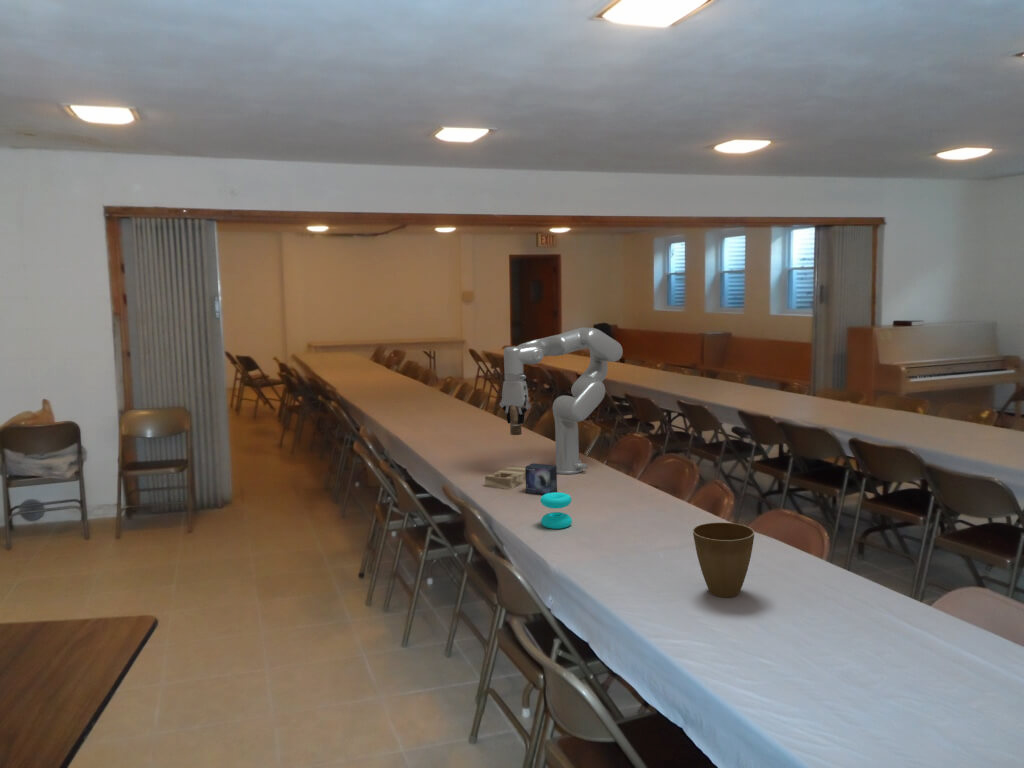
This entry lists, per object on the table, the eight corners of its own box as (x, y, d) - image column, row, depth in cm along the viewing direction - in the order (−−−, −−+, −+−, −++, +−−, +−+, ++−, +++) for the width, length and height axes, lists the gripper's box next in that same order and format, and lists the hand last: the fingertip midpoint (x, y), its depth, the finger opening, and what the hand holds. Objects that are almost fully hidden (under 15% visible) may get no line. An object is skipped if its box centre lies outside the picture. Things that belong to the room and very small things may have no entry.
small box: (525, 493, 302) (524, 466, 301) (532, 489, 308) (531, 462, 306) (550, 496, 297) (549, 468, 296) (557, 492, 303) (557, 465, 301)
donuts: (565, 490, 267) (575, 497, 257) (565, 519, 268) (576, 527, 259) (536, 493, 264) (545, 500, 255) (537, 522, 265) (546, 531, 256)
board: (511, 475, 331) (511, 465, 331) (535, 477, 325) (534, 468, 325) (485, 486, 314) (485, 476, 314) (509, 489, 308) (509, 479, 308)
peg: (523, 433, 322) (522, 403, 321) (517, 435, 319) (516, 405, 317) (514, 432, 325) (513, 403, 323) (508, 434, 321) (507, 405, 319)
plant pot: (742, 579, 210) (743, 520, 208) (762, 602, 196) (763, 538, 193) (686, 582, 210) (686, 522, 208) (701, 604, 195) (701, 541, 193)
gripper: (537, 377, 318) (538, 423, 320) (501, 376, 326) (502, 420, 329) (527, 379, 311) (529, 426, 314) (491, 378, 320) (492, 423, 322)
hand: (515, 422), depth 321 cm, fingers closed on peg, 4 cm apart
